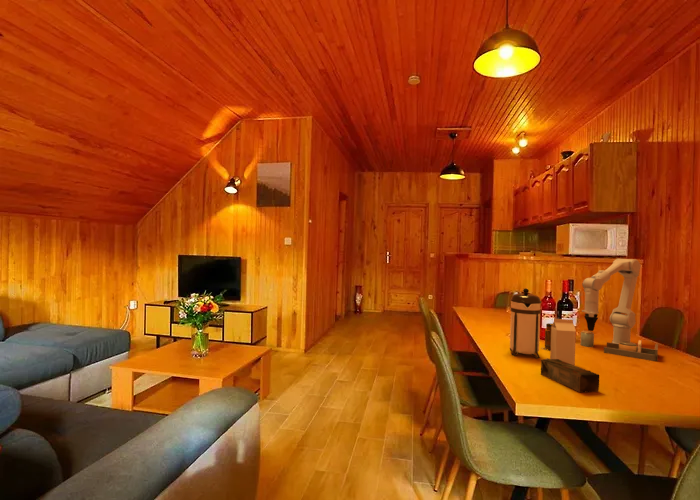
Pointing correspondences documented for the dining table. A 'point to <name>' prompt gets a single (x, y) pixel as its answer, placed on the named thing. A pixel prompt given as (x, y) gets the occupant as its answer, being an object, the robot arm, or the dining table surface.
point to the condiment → (548, 336)
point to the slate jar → (587, 339)
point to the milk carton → (563, 340)
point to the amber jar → (627, 346)
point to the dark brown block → (570, 375)
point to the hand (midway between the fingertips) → (590, 329)
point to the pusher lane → (645, 352)
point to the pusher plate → (639, 346)
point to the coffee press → (525, 324)
